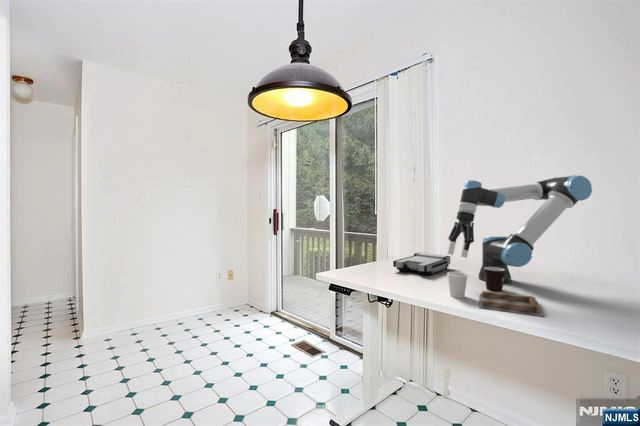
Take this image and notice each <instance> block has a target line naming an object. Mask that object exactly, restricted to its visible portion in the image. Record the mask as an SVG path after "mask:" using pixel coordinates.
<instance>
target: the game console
mask: <svg viewBox="0 0 640 426" xmlns="http://www.w3.org/2000/svg"><path fill="white" fill-rule="evenodd" d="M392 263H393V264H392V265H393V268H396V270H398V272H403V273H411V272H414V271H416V272H417V274H419V276H424V277H431V276H434V275H436V274H438V273H441V272H443V270H444V271H446V269H447V270H448V267H450V266H449V265H450V264H451V255H443V254H435V253H429V252H427V253H426V252H416V253H414V254H413V255H411V256H408V257H404V258H400V259H397V260H393V262H392Z"/></svg>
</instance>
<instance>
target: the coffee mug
mask: <svg viewBox="0 0 640 426" xmlns="http://www.w3.org/2000/svg"><path fill="white" fill-rule="evenodd" d="M484 271H485V280H486V281H485V288H486V291H488V292H497V293H503V287H504V283H503V281H504V274H505V269H502V268H497V267H485V268H484Z"/></svg>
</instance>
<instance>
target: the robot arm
mask: <svg viewBox="0 0 640 426" xmlns="http://www.w3.org/2000/svg"><path fill="white" fill-rule="evenodd" d="M592 186H593V185H592V183H591V180H589V178H587V177H586V176H584V175H575V174H574V175H568V176H559V177H552V178H548V179H544V180H541V181H540V180H539V181H534V182H532V183H531V184H524V185H523V184H522V185H517V186H508V187H500V188H493V189H487V188H484V187H482V182H480V181H478V180H474V179H473V180H466V181H465V182H464V185H463V188H462V193H461V198H460V200H459V201H460V202H459V204H458V211H457V214H456V220H458V221H455V222H454V225H453V227H452V230H450V233H449V235H448V238H447V239H448V240H449V244H448V248H447V254H448V255H450V256H454V253H455V249H456V245H457V240H458V238H459V236H460V235H461V233H463V239H464V241H463V244H462V247H461V253H460V257H463V258H466V259H467V258H468V255H469V250H470V246H471V244H472V243H474V242H475V237H474V225H475V223H474V220H475V216H476V215H475V214H476V212H477V211H476V210H477V207H478V206H481V207H491V208H496V209H498V208H501V207H503V206H504V205H505V203H508V202H509V203H510V202H516V201H517V202H518V201H525V200H535V201H541V200H545V202H543V203H542V205H541V206H540V207H539V208H538V209H537V210H536V211H535V212H534V213H533V214H532V216H530V218H529V219H528V220H527V221H526V222H525V223H524V224H523V225H522V226H521V228H520V229H519V230H518V231H517V232H516V233H510V234H509V236H484V237H483V239H482V244H481V245H482V257H481V258H482V260H481V261H482V264H481V267H480V269H479V271H478V279H479V280H481V281H484V282H486V280H485V271H484V268H485V267H497V268H502V269H505V274H504V281H503V284H506V283H507V284H508V283H509V284H510V283H511V282H512V275H511V273H510V270H509V266H510V267H514V268H515V267H516V268H520V267H524V266H526V265H528V264H529V263H530V262H531V260H532V257H533V250H534V247H535V246H534V245H535V243H536V242H537V241H538V240H539V239H540V238H541V236H543V234H544V233H545V232H546V231H547V230H548V229H549V228H551V226H552V225H553V224H554V222H556V220H557V219H558V218H559V217H560V216H561V215H562V214H563V213H564V212H565V210H566V209H571V208H573V207H574V206H575V205H576V204H577V203H578V202H579V201H581V202H582V201H585V200H587V199H588V198H590V196H592V192H593V187H592Z"/></svg>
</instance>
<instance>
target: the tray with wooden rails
mask: <svg viewBox="0 0 640 426" xmlns="http://www.w3.org/2000/svg"><path fill="white" fill-rule="evenodd" d="M481 292H482V293H479V298H478V308H479V309H484V310H492V311H496V312H497V311H499V312H505V313H510V314H511V313H513V314H518V315H519V314H521V315H527V316H533V317H541V318H545V315H544V313H543V311H542V309H541V307H540V304H539V302H538V301H537V299H536V297H535V296H530V295H524V294H523V295H519V294H514V293H505V292H504V293H503V292H493V291H488V290H482V291H481Z"/></svg>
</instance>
